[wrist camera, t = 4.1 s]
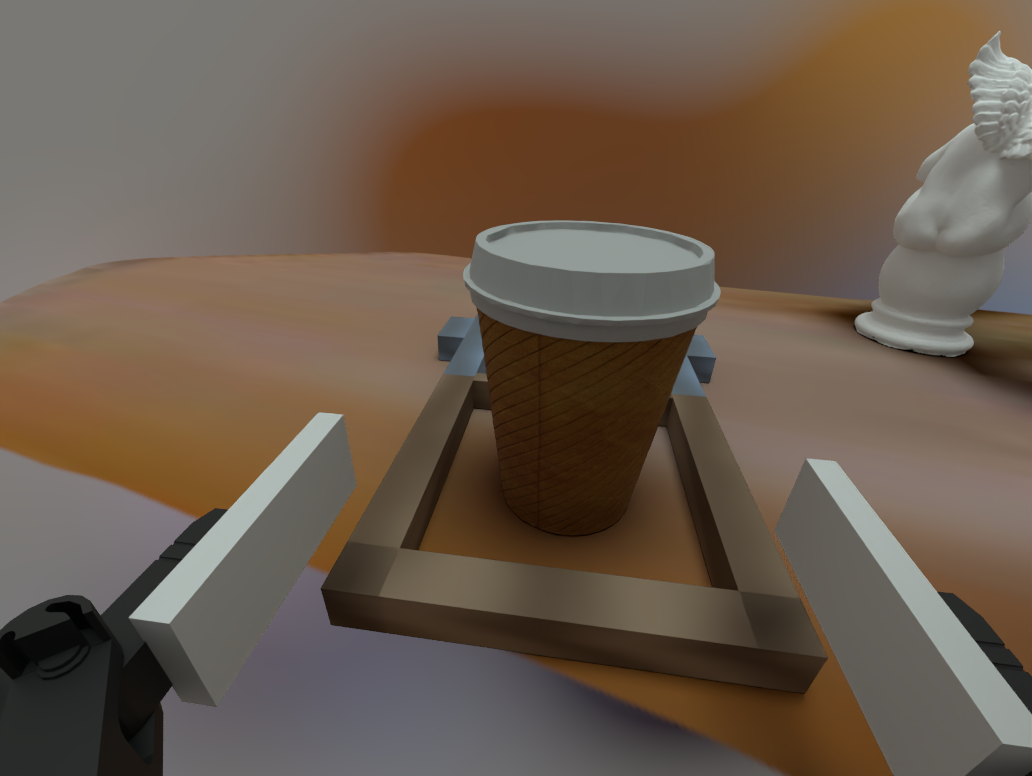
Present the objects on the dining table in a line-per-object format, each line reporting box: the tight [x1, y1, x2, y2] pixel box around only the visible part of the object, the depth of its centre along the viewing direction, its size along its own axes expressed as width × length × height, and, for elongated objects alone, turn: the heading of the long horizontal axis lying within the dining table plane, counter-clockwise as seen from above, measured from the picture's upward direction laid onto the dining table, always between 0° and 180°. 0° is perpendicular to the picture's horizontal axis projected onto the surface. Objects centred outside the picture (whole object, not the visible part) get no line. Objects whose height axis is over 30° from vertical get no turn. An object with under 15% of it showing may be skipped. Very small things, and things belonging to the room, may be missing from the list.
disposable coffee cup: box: [463, 221, 721, 535], centre depth 20 cm, size 10×10×12 cm
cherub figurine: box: [855, 31, 1032, 357], centre depth 35 cm, size 12×12×22 cm
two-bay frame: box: [321, 314, 828, 694], centre depth 28 cm, size 20×31×2 cm, turn 173°
